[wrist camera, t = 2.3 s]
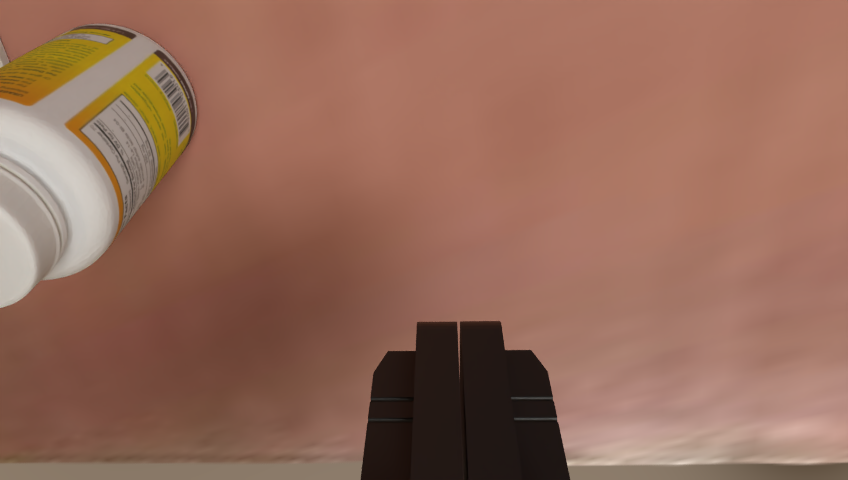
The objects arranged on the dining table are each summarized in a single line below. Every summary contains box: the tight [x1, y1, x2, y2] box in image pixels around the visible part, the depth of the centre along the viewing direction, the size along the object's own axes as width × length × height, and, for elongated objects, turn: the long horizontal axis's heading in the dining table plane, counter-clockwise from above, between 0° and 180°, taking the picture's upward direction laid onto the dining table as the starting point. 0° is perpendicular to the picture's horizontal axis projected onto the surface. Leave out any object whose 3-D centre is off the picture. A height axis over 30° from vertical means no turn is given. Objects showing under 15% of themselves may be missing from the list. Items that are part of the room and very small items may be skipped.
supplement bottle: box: [0, 24, 197, 308], centre depth 19 cm, size 6×6×10 cm
